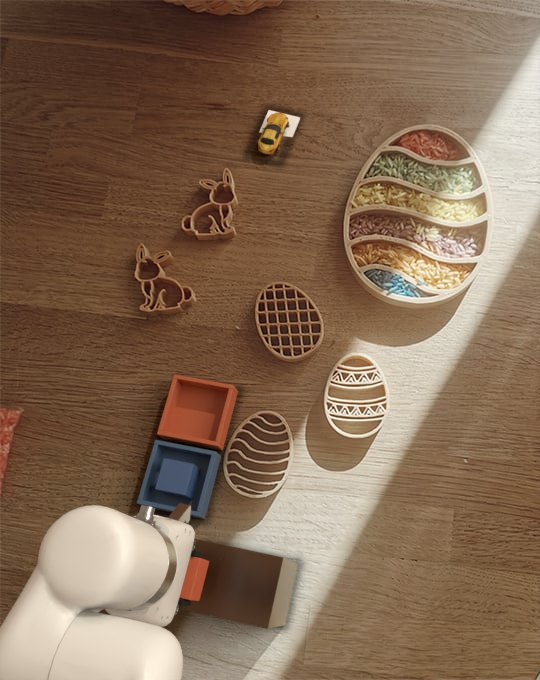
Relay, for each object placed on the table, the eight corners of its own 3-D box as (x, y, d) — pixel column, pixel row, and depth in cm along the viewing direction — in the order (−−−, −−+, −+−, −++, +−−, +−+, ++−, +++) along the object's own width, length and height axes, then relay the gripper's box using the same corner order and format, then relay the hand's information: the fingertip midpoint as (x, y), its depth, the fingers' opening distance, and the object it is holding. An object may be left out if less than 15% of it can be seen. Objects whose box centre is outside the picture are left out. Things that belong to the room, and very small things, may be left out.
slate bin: (205, 519, 104) (199, 516, 101) (144, 506, 105) (136, 503, 102) (221, 456, 107) (216, 451, 104) (162, 444, 108) (155, 439, 105)
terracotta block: (199, 601, 82) (189, 600, 78) (162, 592, 83) (150, 591, 78) (209, 561, 83) (200, 558, 79) (173, 553, 84) (162, 549, 80)
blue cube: (192, 499, 105) (185, 495, 100) (163, 493, 105) (154, 489, 101) (200, 469, 106) (193, 463, 102) (172, 463, 107) (163, 457, 102)
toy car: (293, 119, 126) (291, 111, 124) (276, 160, 124) (274, 152, 121) (271, 114, 127) (269, 105, 125) (254, 154, 124) (251, 146, 122)
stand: (285, 625, 99) (267, 628, 84) (193, 604, 100) (160, 604, 85) (298, 564, 101) (283, 557, 86) (208, 545, 103) (178, 535, 88)
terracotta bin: (223, 451, 107) (217, 446, 104) (163, 439, 108) (156, 434, 105) (238, 391, 110) (233, 385, 107) (180, 381, 111) (174, 374, 108)
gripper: (122, 464, 69) (173, 495, 86) (62, 656, 63) (130, 648, 80) (198, 480, 68) (235, 508, 85) (145, 676, 62) (196, 664, 79)
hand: (183, 576), depth 82 cm, fingers closed on terracotta block, 4 cm apart
